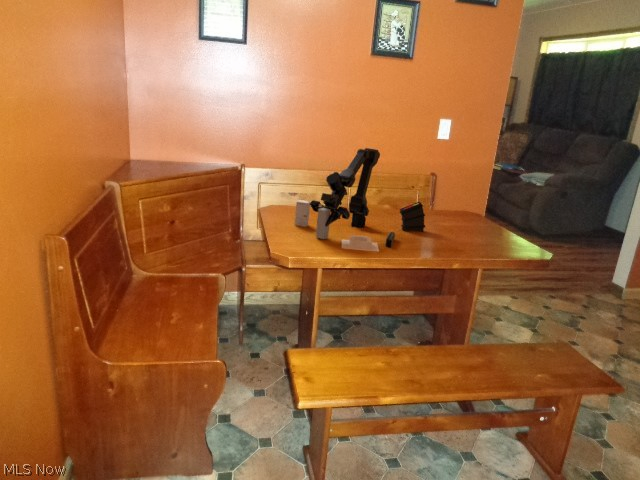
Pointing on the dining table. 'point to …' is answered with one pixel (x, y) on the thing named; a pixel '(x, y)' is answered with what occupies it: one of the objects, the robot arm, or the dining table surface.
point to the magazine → (413, 217)
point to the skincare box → (302, 213)
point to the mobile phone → (390, 239)
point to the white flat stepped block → (360, 243)
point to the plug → (322, 223)
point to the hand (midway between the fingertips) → (321, 224)
